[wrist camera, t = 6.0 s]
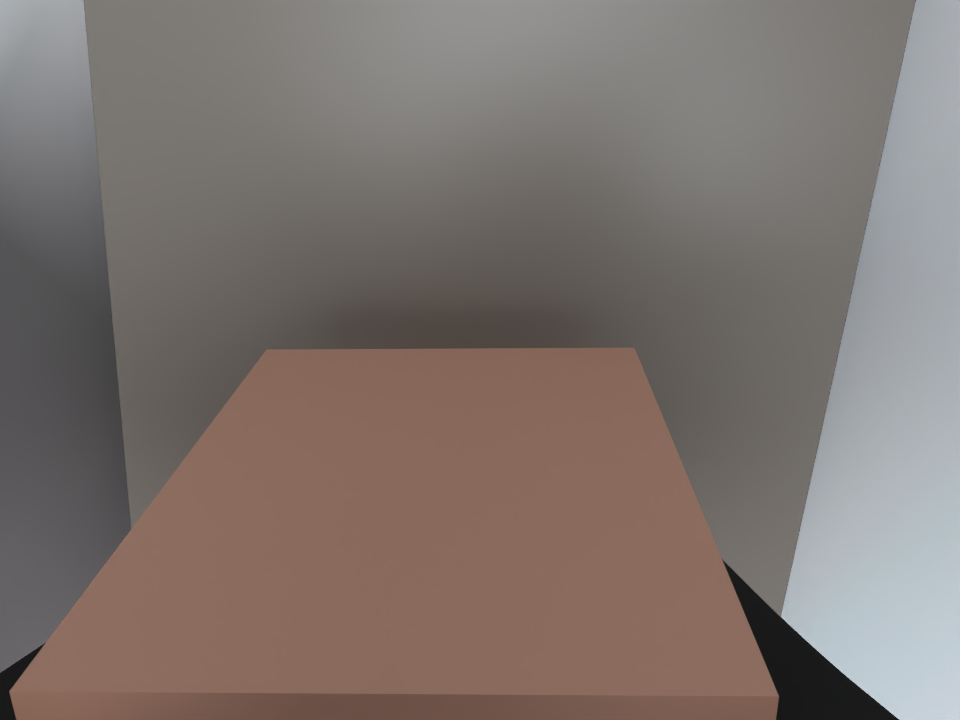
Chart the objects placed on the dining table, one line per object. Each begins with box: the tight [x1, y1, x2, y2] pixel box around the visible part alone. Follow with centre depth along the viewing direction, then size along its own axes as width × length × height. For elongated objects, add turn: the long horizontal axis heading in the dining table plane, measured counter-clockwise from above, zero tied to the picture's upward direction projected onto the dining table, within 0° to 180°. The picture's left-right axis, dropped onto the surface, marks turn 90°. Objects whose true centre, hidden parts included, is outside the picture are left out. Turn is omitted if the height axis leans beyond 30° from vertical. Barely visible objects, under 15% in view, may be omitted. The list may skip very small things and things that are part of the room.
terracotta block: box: [9, 348, 779, 720], centre depth 9 cm, size 4×4×6 cm
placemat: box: [84, 0, 916, 617], centre depth 15 cm, size 12×16×1 cm
